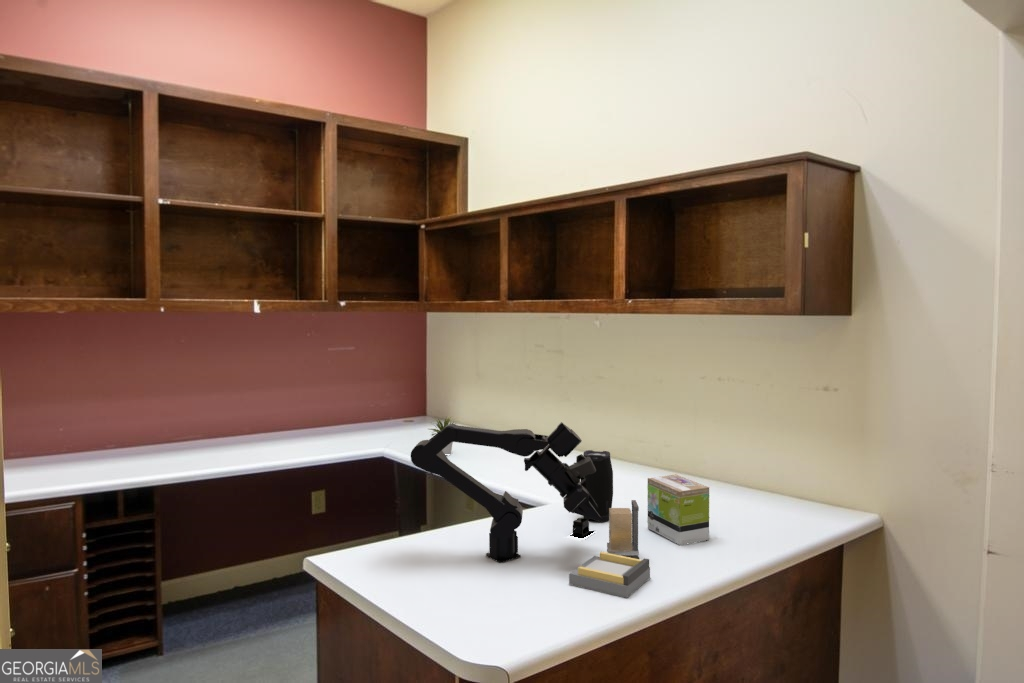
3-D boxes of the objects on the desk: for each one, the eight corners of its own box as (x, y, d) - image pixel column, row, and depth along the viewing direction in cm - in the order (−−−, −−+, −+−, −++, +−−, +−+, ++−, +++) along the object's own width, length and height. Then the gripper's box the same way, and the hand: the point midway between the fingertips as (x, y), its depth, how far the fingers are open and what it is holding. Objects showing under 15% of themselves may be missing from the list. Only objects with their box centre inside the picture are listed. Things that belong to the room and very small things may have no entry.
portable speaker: (592, 512, 212) (592, 448, 211) (617, 518, 206) (618, 452, 205) (575, 519, 205) (575, 452, 204) (600, 525, 199) (600, 457, 198)
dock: (569, 584, 157) (569, 564, 157) (594, 565, 168) (594, 547, 168) (627, 598, 150) (627, 577, 150) (650, 577, 161) (650, 558, 161)
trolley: (609, 562, 171) (609, 506, 170) (606, 553, 177) (606, 499, 176) (638, 562, 170) (639, 507, 170) (635, 553, 176) (635, 500, 176)
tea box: (646, 529, 195) (646, 477, 195) (675, 524, 199) (676, 473, 199) (679, 546, 182) (679, 490, 181) (710, 541, 186) (710, 485, 185)
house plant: (432, 450, 303) (431, 412, 303) (463, 451, 301) (463, 413, 301) (423, 457, 289) (422, 418, 288) (456, 458, 287) (455, 418, 286)
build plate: (579, 528, 199) (579, 512, 198) (603, 532, 195) (603, 516, 195) (558, 540, 188) (558, 524, 188) (583, 545, 184) (583, 528, 184)
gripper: (577, 455, 163) (625, 502, 163) (574, 439, 182) (617, 481, 182) (544, 488, 164) (592, 535, 164) (544, 469, 183) (587, 511, 183)
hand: (598, 514), depth 173 cm, fingers open, 9 cm apart
